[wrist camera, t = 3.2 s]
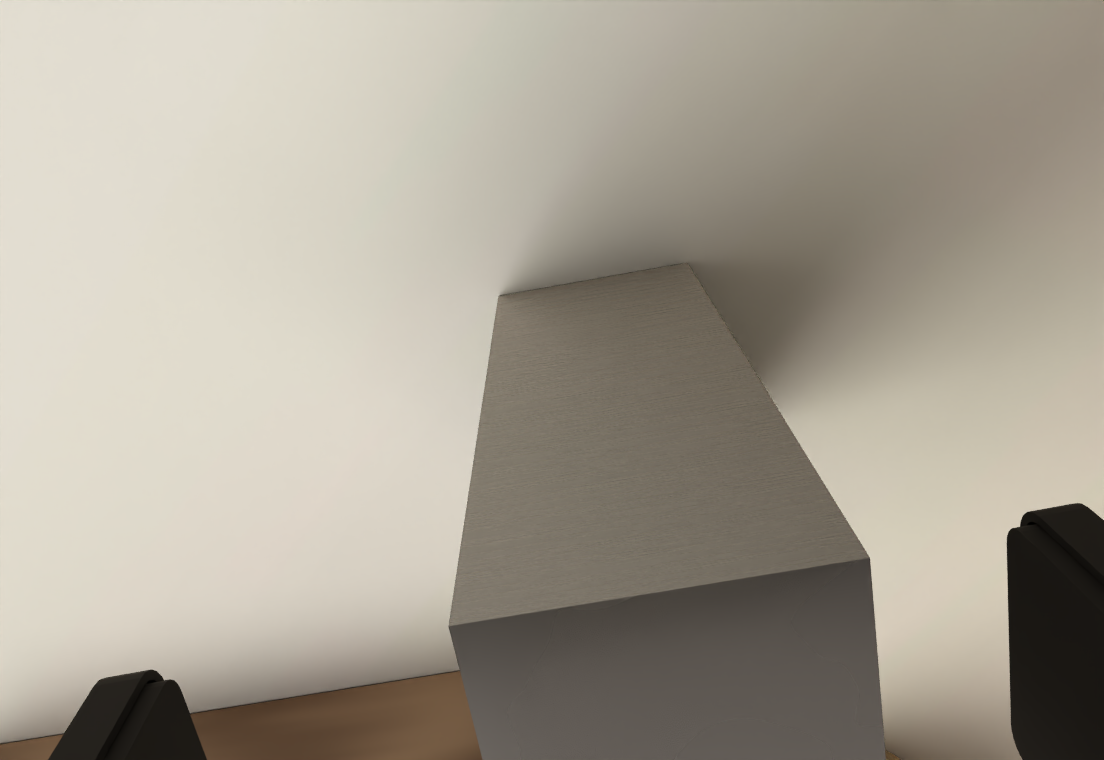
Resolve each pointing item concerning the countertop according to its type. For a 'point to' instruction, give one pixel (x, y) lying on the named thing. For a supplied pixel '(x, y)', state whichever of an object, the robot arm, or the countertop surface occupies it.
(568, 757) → the square bit
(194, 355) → the countertop surface
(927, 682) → the countertop surface
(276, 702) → the bore block
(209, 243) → the countertop surface
